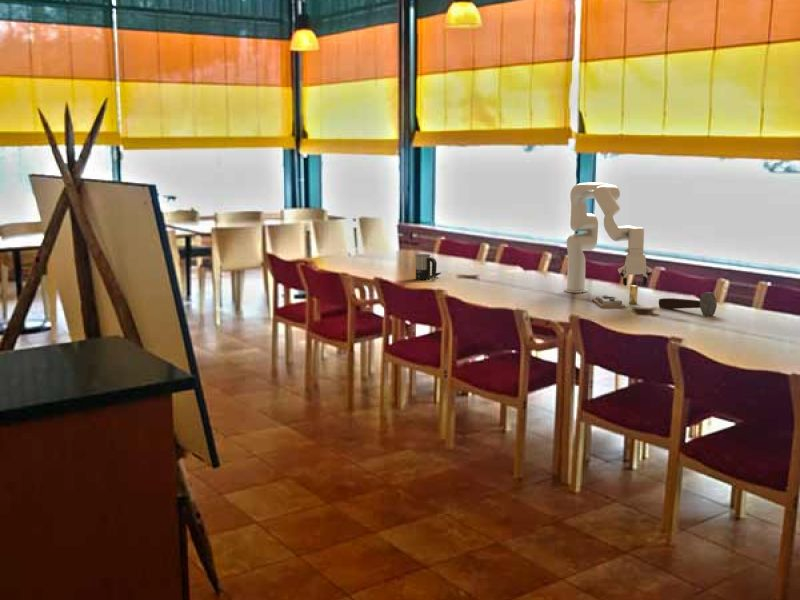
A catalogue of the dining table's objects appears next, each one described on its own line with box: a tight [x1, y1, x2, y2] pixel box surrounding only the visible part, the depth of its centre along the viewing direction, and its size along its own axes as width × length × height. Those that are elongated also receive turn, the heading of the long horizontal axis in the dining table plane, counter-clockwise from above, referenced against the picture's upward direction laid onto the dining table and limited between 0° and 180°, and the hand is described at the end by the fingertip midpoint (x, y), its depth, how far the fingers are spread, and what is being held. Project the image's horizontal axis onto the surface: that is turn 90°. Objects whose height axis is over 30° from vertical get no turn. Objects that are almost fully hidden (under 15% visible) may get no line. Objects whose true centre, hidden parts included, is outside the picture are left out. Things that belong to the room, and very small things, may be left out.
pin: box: [628, 284, 639, 305], centre depth 436 cm, size 4×4×9 cm
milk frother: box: [414, 253, 442, 280], centre depth 516 cm, size 14×16×15 cm
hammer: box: [658, 291, 718, 317], centre depth 415 cm, size 5×11×30 cm
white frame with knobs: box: [591, 294, 626, 309], centre depth 435 cm, size 20×12×4 cm, turn 0°
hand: (634, 285), depth 435 cm, fingers open, 9 cm apart
